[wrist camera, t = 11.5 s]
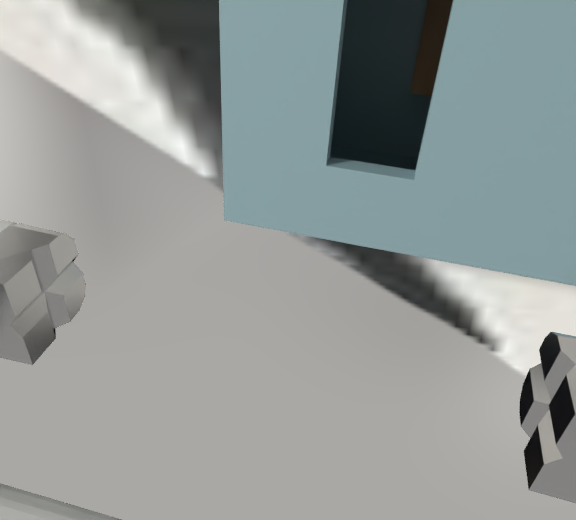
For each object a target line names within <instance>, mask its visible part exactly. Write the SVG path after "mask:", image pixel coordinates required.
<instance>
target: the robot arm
mask: <svg viewBox="0 0 576 520" xmlns="http://www.w3.org/2000/svg"><path fill="white" fill-rule="evenodd" d="M78 254H79V253H78V250H77V247H76V243H75V240H74V238H72V237H71V236H69V235H67V234H64V233H60V232H56V231H51V230H47V229H42V228H38V227H34V226H29V225H24V224H20V223H19V224H17V223H14V222H10V221H5V220H1V219H0V358H4V359H9V360H13V361H18V362H23V363H27V364H31V365H33V364H34V363H35V361H36V360H37V359H38V358H39V357H40V356H41V355H42V354H43V352H44V351H45V350H46V349H47V348H48V347H49V346H50V344H51V343H52V342H53V341H54V340H55V339H56V332H55V328H57V327H59V326H61V325H63V324H66V323H68V322H70V321H71V320H72V319H73V318H74V316H75V315H76V314H77V313H78V311H79V310H80V308H81V305H82V302H83V300H84V297H85V285H86V283H85V279H84V274H83V272H82V271H81V270H80V269H79V268H78V267H77V265H76V264H75V263H74V260H75V258H76V257H77V255H78ZM539 351H540V357H541V364H539V365H537V366H535V367H533V368H531V369H529V372H528V374H527V376H526V379H525V381H524V383H523V387H522V392H521V397H520V423H521V427H522V428H523V430H524V431H525V432H526V433H527V434H528V436H529V437H530V440H529V442H528V444H527V446H526V448H525V450H524V456H525V464H526V472H527V480H528V488H529V490H531V491H534V492H538V493H541V494H545V495H549V496H552V497H556V498H559V499H563V500H566V501H570V502H573V503H576V337H575V336H570V335H565V334H560V333H555V332H550V333H549V334H548V335H547V336H546V337H545V339H544V341H543V343H542V345H541V347H540V349H539ZM0 520H121V519H118V518H114V517H111V516H108V515H104V514H101V513H98V512H94V511H91V510H88V509H84V508H81V507H78V506H74V505H71V504H68V503H64V502H61V501H58V500H54V499H51V498H47V497H44V496H41V495H37V494H34V493H31V492H27V491H24V490H21V489H18V488H14V487H11V486H8V485H4V484H0Z"/></svg>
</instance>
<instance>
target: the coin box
mask: <svg viewBox="0 0 576 520" xmlns="http://www.w3.org/2000/svg"><path fill="white" fill-rule="evenodd" d="M427 2H428V0H219V15H220V58H221V101H222V145H223V188H224V220H226V221H231V222H236V223H242V224H247V225H252V226H258V227H263V228H268V229H274V230H279V231H284V232H290V233H295V234H300V235H306V236H311V237H317V238H322V239H327V240H333V241H338V242H343V243H349V244H354V245H359V246H365V247H370V248H375V249H381V250H386V251H392V252H397V253H402V254H408V255H413V256H418V257H424V258H429V259H434V260H440V261H445V262H451V263H456V264H461V265H467V266H472V267H477V268H483V269H488V270H493V271H499V272H504V273H509V274H515V275H520V276H526V277H531V278H536V279H542V280H547V281H552V282H558V283H563V284H568V285H574V286H576V0H453V3H452V7H451V12H450V16H449V21H448V25H447V30H446V34H445V39H444V43H443V48H442V52H441V57H440V62H439V66H438V71H437V75H436V80H435V84H434V89H433V93H432V96H426V95H419V94H411V93H410V89H411V84H412V79H413V74H414V68H415V63H416V58H417V53H418V48H419V43H420V38H421V32H422V27H423V22H424V17H425V12H426V7H427Z"/></svg>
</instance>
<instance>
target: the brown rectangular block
mask: <svg viewBox="0 0 576 520" xmlns="http://www.w3.org/2000/svg"><path fill="white" fill-rule="evenodd" d="M452 3H453V0H428V2H427V7H426V12H425V17H424V22H423V27H422V32H421V38H420V43H419V48H418V53H417V58H416V63H415V68H414V74H413V79H412V84H411V89H410V93H411V94H419V95H426V96H432V93H433V89H434V84H435V80H436V75H437V71H438V66H439V62H440V57H441V52H442V48H443V43H444V39H445V34H446V30H447V25H448V21H449V16H450V12H451V7H452Z"/></svg>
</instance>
